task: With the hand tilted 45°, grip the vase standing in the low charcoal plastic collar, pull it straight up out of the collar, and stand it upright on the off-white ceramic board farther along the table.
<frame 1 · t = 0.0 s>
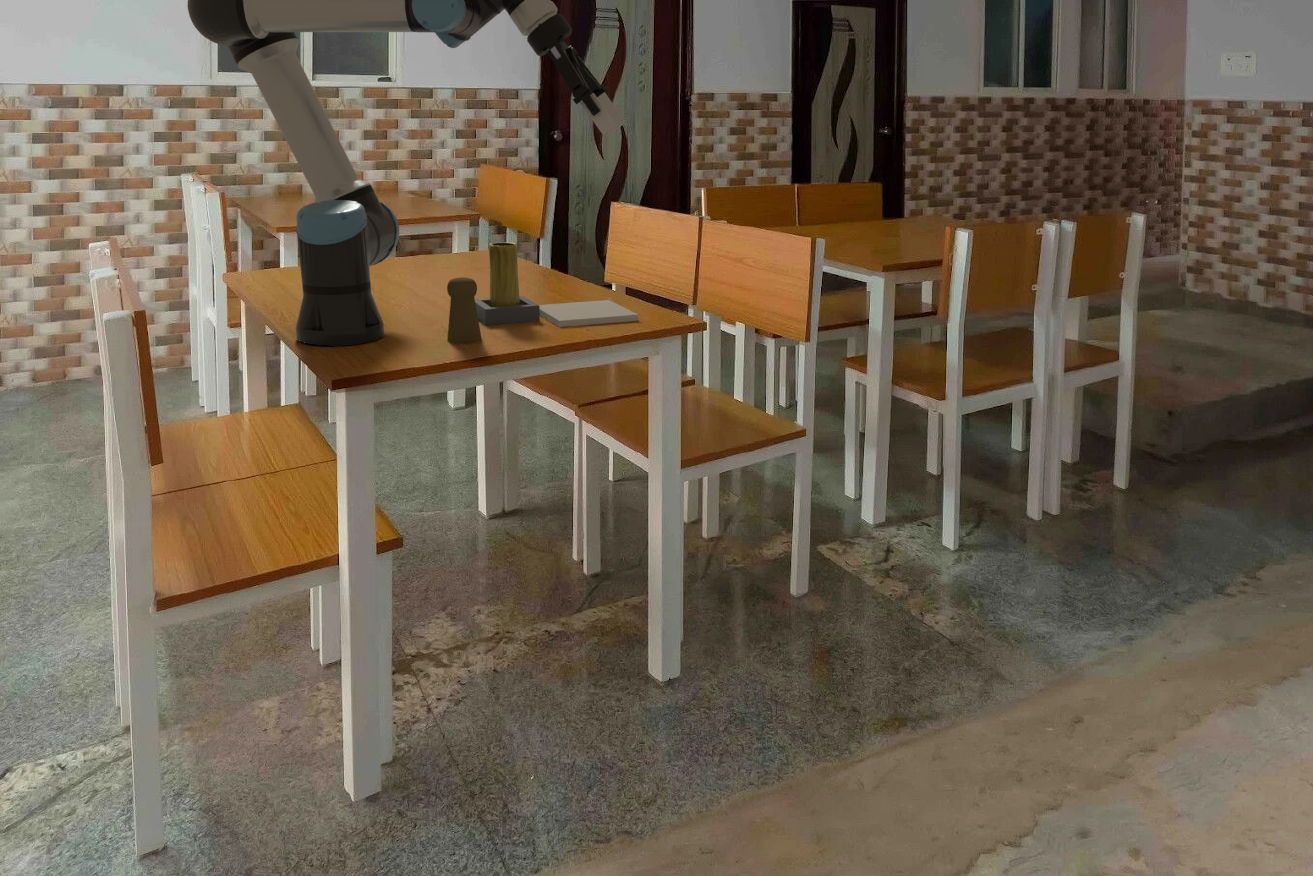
hand: (614, 128, 196), 36 cm above the table, tool tilted 35°, fingers open, 13 cm apart
collar: (505, 317, 216), on the table
vase: (505, 318, 216), resting in collar
board: (585, 315, 218), on the table
olive brown pawn: (464, 340, 197), on the table
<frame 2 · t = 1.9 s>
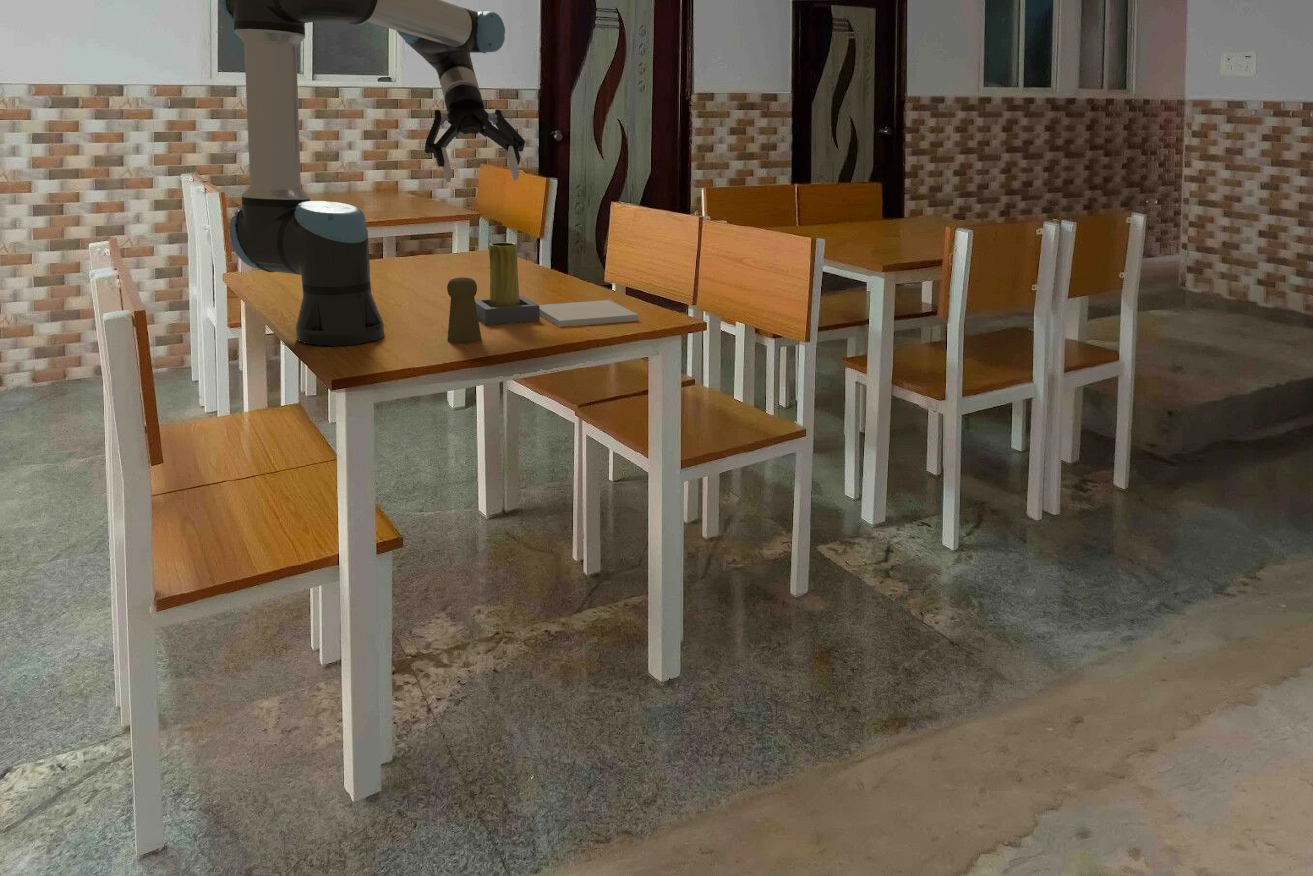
hand: (483, 176, 219), 26 cm above the table, tool tilted 45°, fingers open, 13 cm apart
nothing on the table moved.
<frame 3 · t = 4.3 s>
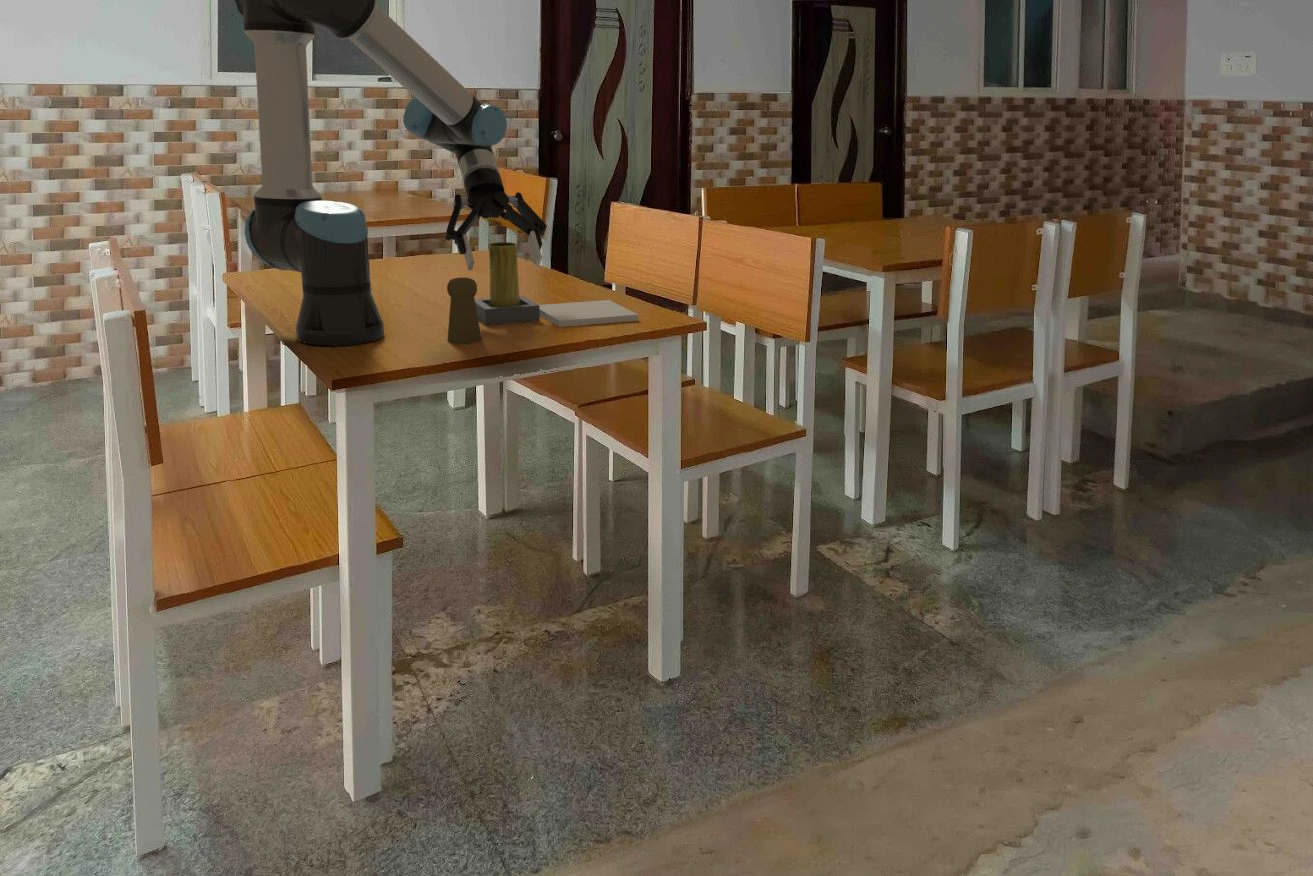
hand: (505, 264, 216), 10 cm above the table, tool tilted 45°, fingers open, 13 cm apart
nothing on the table moved.
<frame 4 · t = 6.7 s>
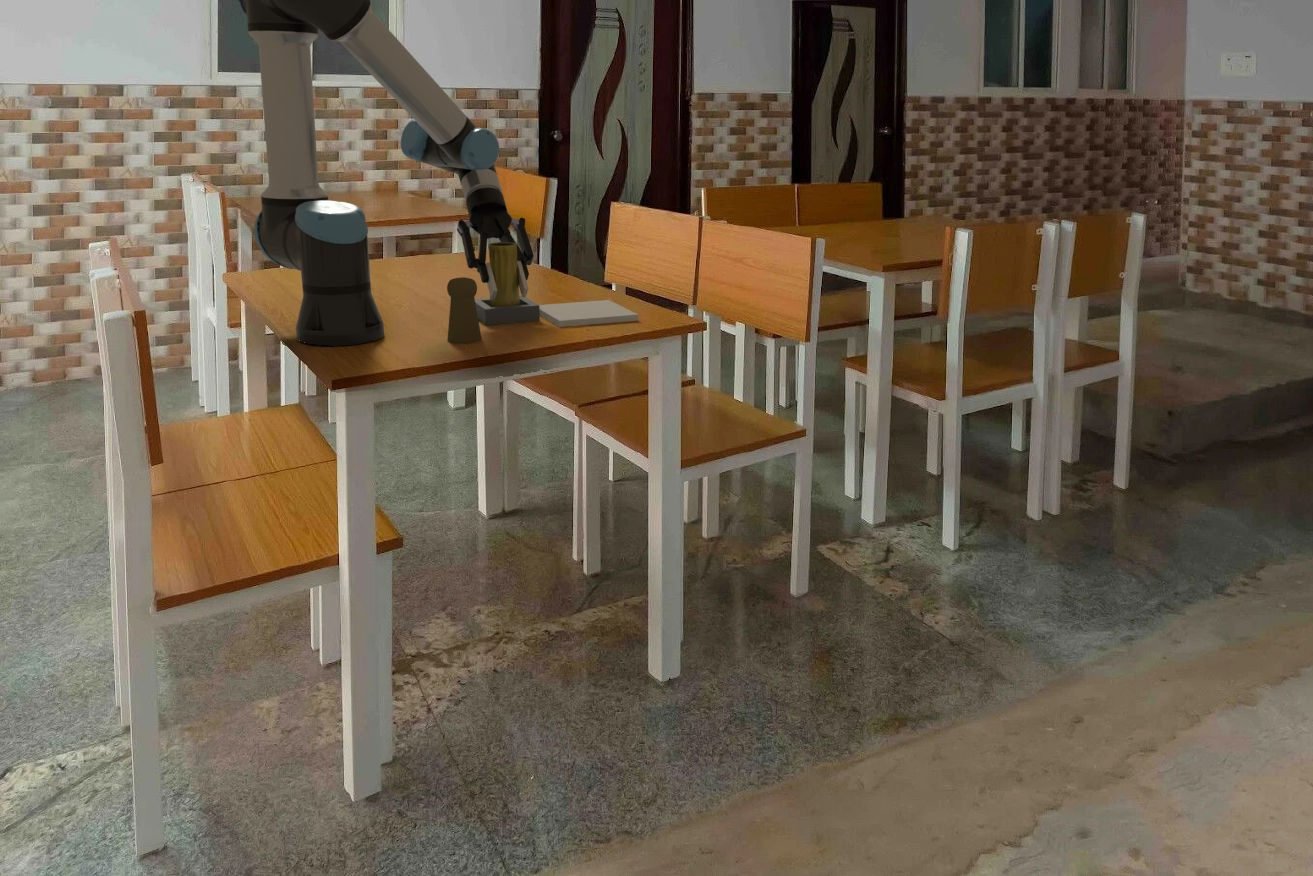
hand: (509, 293, 211), 5 cm above the table, tool tilted 45°, fingers closed on vase, 5 cm apart
vase: (505, 318, 216), resting in collar, touching gripper
everything else where it was.
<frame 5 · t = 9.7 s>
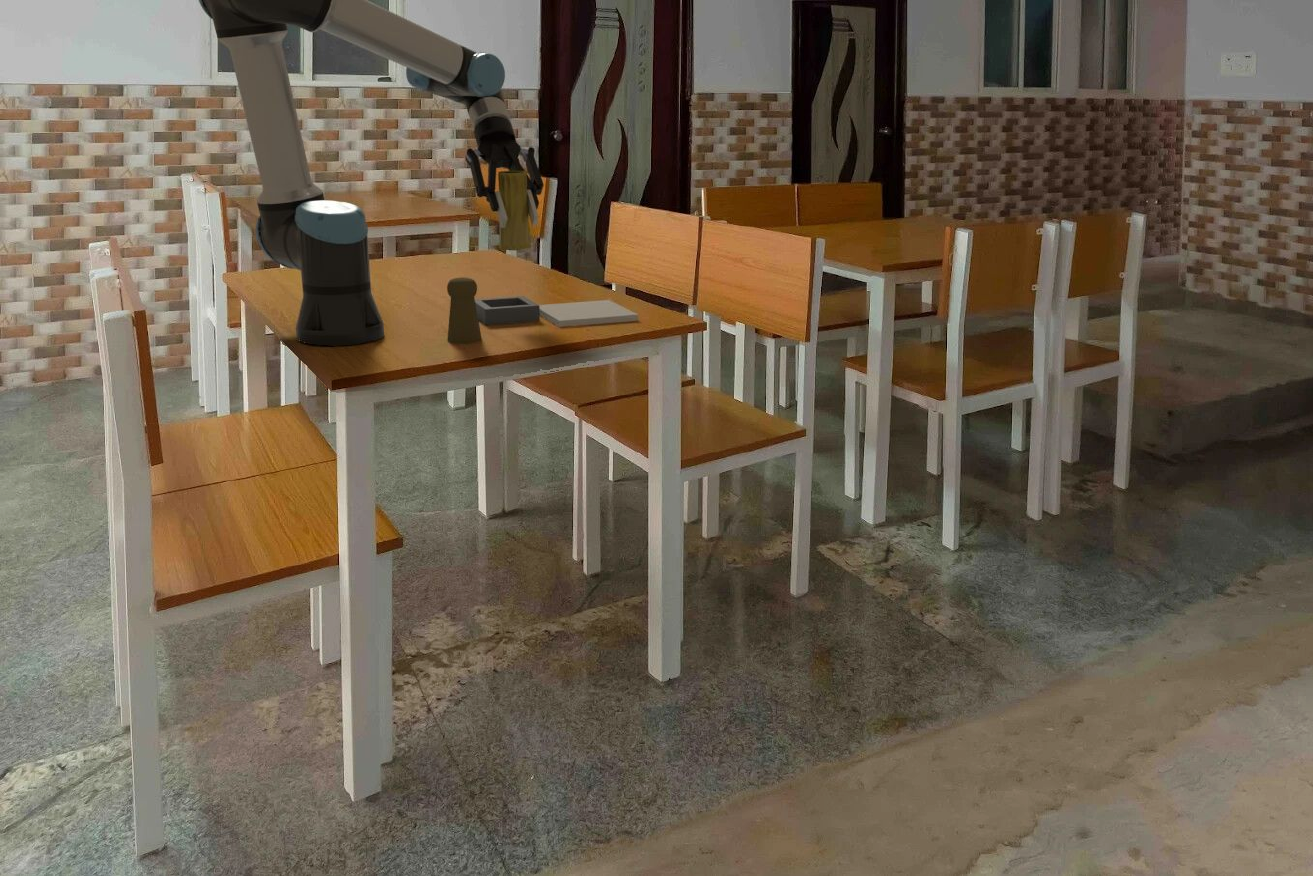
hand: (520, 222, 208), 19 cm above the table, tool tilted 45°, fingers closed on vase, 5 cm apart
vase: (515, 249, 212), point 13 cm above the table, touching gripper
everything else where it was.
when the fingers open (8 cm above the table, at t = 13.1 s): vase drops 1 cm, resting on board.
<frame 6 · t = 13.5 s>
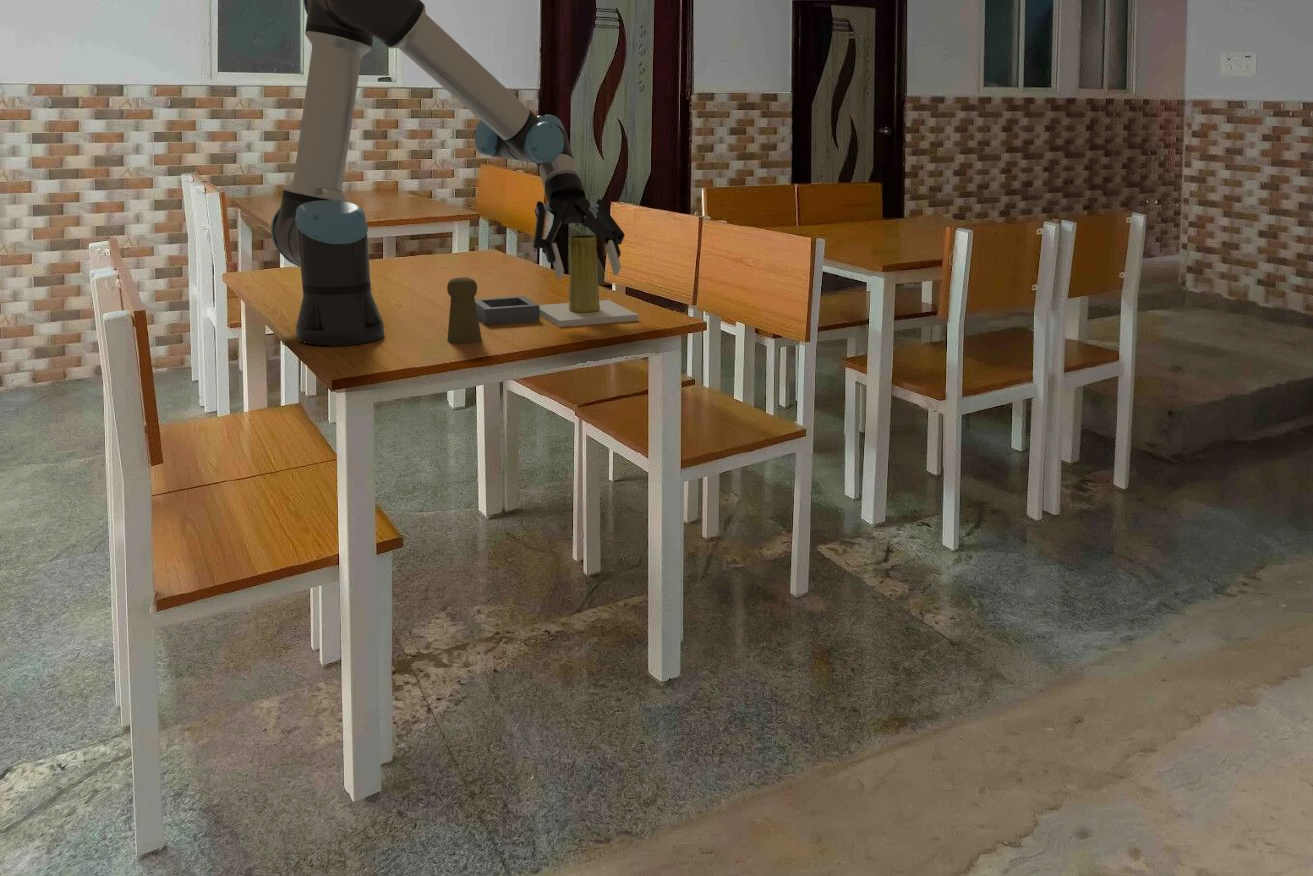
hand: (589, 273, 213), 9 cm above the table, tool tilted 45°, fingers open, 11 cm apart
vase: (584, 310, 217), point 1 cm above the table, touching board
everything else where it was.
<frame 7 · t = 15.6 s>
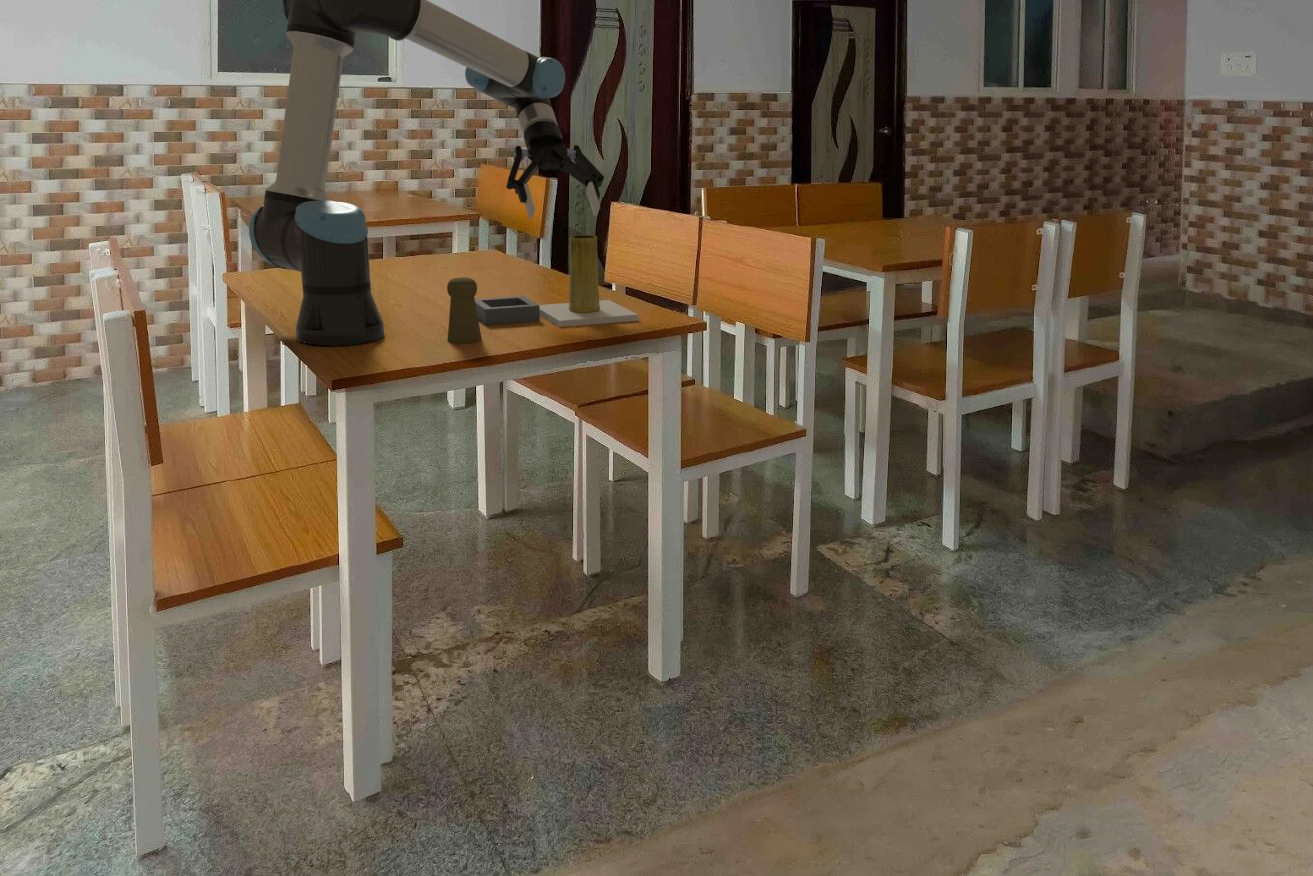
hand: (564, 212, 221), 19 cm above the table, tool tilted 45°, fingers open, 13 cm apart
nothing on the table moved.
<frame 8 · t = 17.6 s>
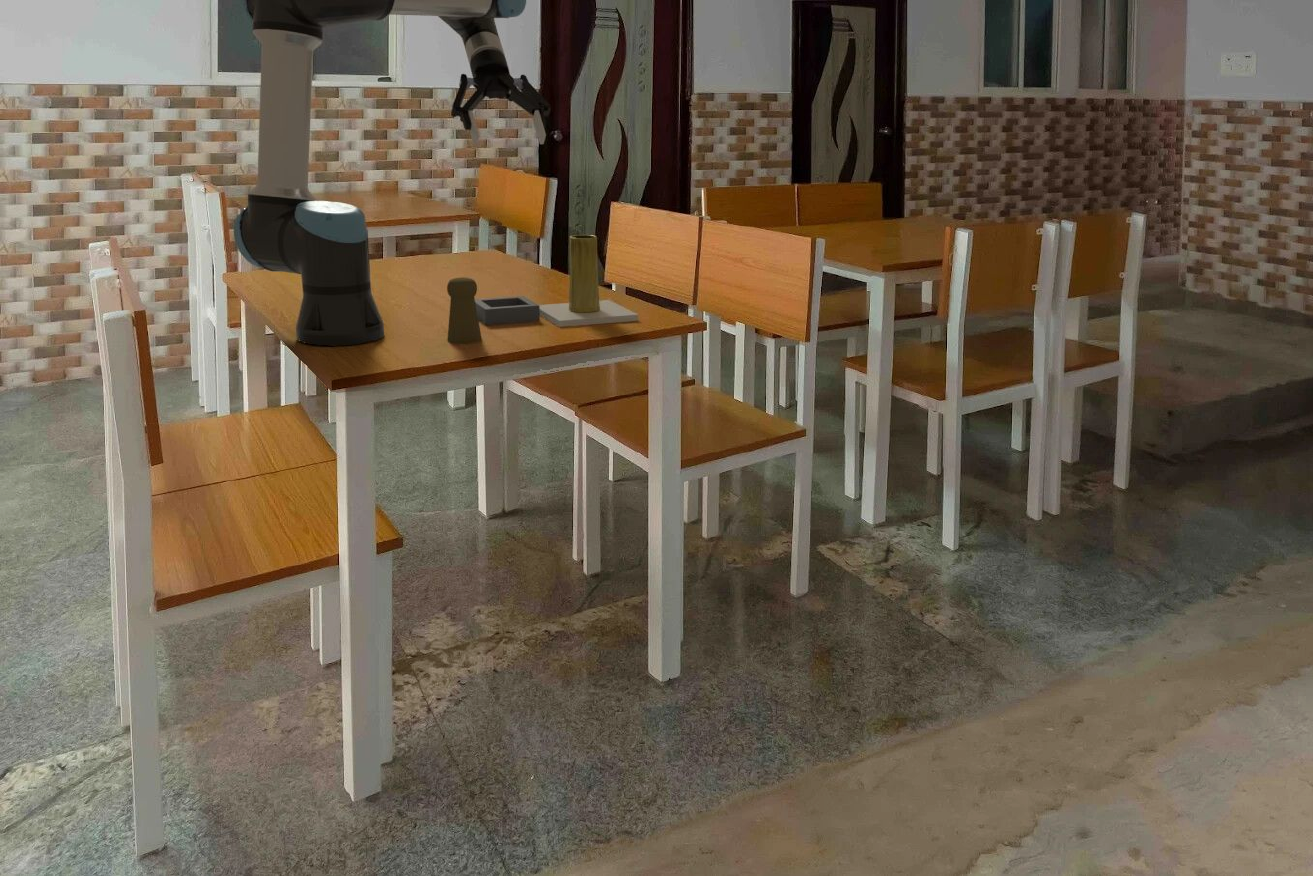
hand: (510, 140, 220), 33 cm above the table, tool tilted 45°, fingers open, 13 cm apart
nothing on the table moved.
at the end: vase inside the target area on the board (0.1 cm from its centre), point 1.0 cm above the board's base; vase tilted 0°; the gripper is holding nothing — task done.
